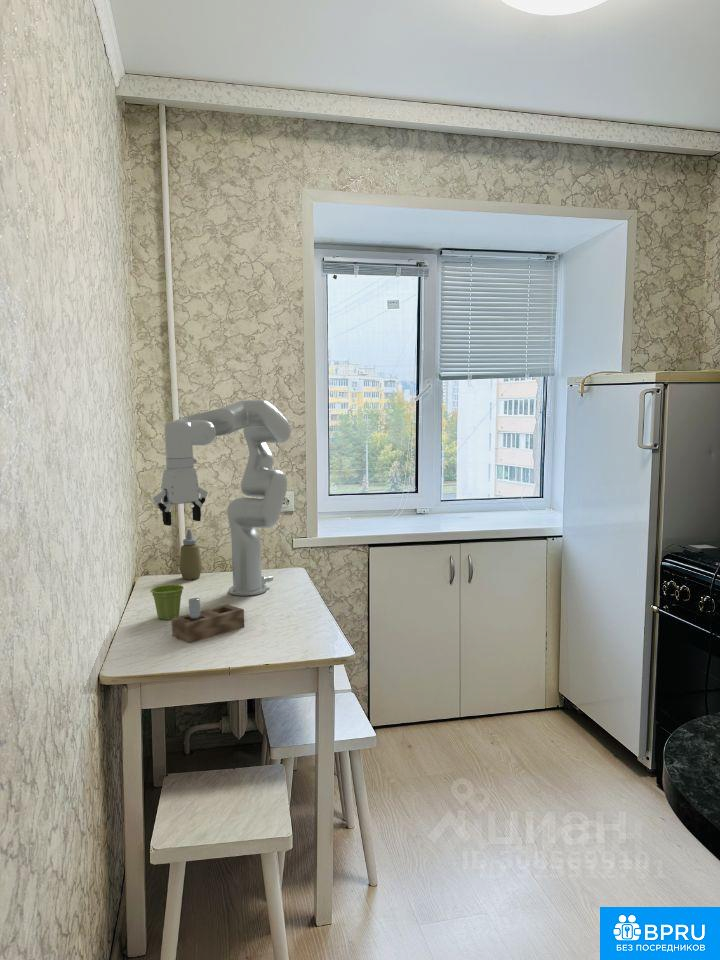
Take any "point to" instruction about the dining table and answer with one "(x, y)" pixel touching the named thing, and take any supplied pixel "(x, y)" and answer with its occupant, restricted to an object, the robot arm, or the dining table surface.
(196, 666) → the dining table surface
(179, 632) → the socket block
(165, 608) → the plant pot
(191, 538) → the squeeze bottle
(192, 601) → the pin
